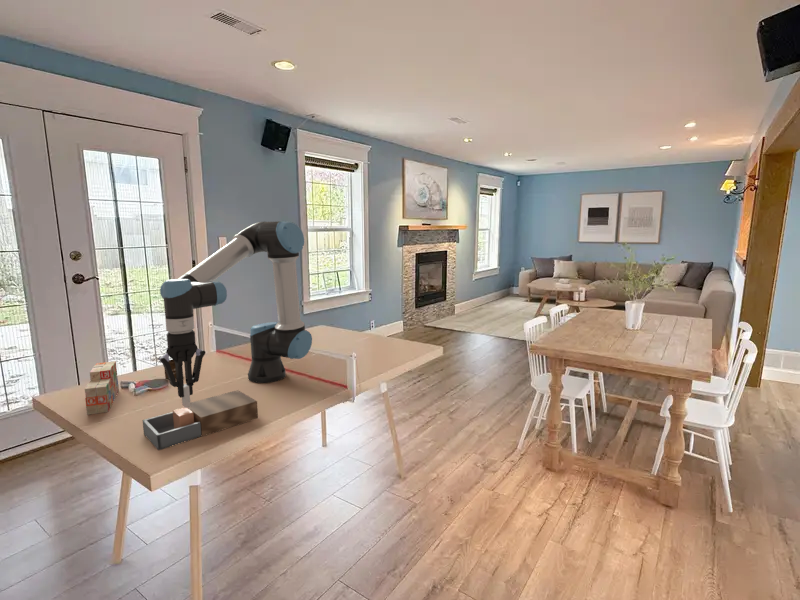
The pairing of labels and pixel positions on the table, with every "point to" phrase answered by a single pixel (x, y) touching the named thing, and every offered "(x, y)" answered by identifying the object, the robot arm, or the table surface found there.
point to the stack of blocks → (101, 388)
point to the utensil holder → (171, 368)
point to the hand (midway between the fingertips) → (186, 405)
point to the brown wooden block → (224, 411)
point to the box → (168, 431)
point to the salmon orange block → (182, 417)
